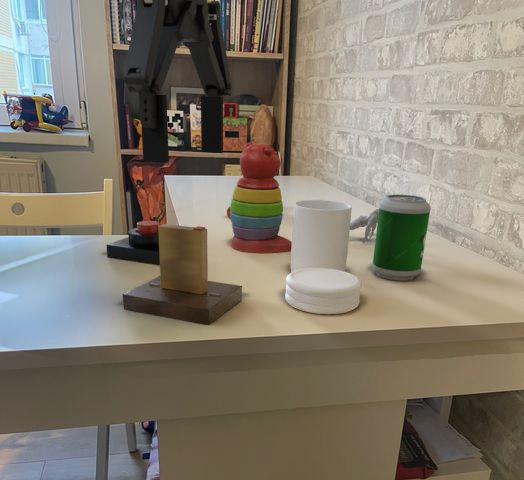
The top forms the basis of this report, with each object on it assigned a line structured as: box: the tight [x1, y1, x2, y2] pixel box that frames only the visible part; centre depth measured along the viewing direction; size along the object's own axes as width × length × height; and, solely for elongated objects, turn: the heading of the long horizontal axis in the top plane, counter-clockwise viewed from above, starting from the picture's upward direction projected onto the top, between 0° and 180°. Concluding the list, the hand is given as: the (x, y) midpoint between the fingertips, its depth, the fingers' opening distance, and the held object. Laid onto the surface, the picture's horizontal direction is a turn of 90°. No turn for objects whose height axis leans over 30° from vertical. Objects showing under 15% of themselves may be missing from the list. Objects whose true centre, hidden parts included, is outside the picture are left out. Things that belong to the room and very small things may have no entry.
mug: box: [290, 199, 353, 273], centre depth 87 cm, size 9×12×11 cm
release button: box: [136, 220, 160, 234], centre depth 92 cm, size 4×4×2 cm
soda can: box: [371, 193, 432, 281], centre depth 86 cm, size 8×8×12 cm
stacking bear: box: [229, 141, 292, 254], centre depth 98 cm, size 11×10×18 cm
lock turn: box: [158, 223, 209, 294], centre depth 70 cm, size 6×2×8 cm, turn 69°
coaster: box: [284, 268, 362, 315], centre depth 75 cm, size 10×10×4 cm
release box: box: [105, 227, 160, 266], centre depth 93 cm, size 10×10×4 cm
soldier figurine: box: [350, 208, 379, 244], centre depth 109 cm, size 6×5×12 cm
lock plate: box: [122, 275, 243, 326], centre depth 72 cm, size 12×10×2 cm
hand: (186, 157), depth 65 cm, fingers open, 13 cm apart
